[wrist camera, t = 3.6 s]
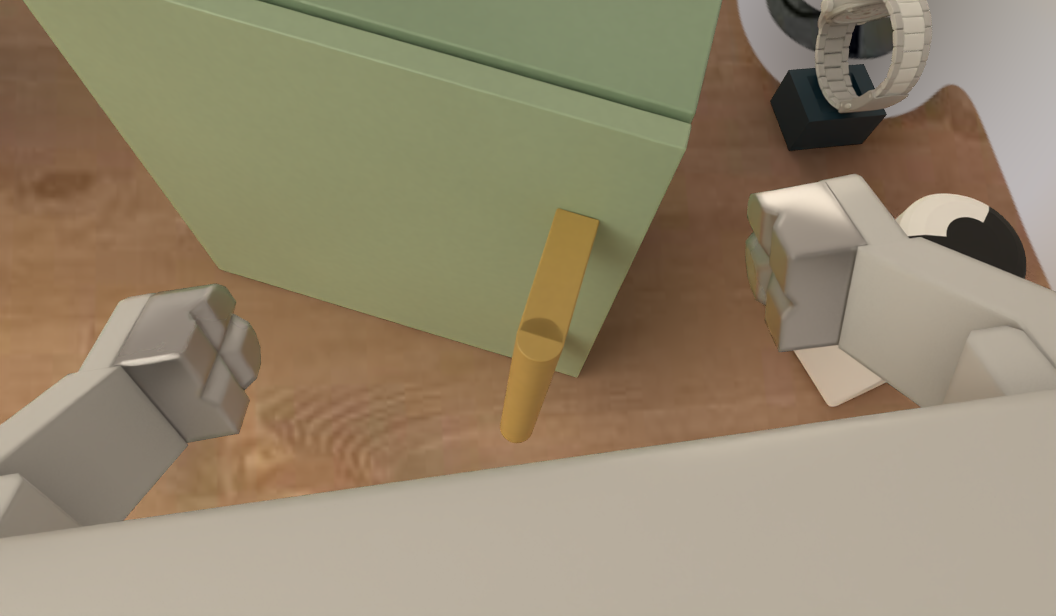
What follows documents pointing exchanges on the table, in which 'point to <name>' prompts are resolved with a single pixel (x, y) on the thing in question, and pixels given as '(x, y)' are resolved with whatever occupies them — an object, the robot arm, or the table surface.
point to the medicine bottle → (947, 225)
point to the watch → (851, 75)
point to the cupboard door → (383, 172)
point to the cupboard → (557, 41)
